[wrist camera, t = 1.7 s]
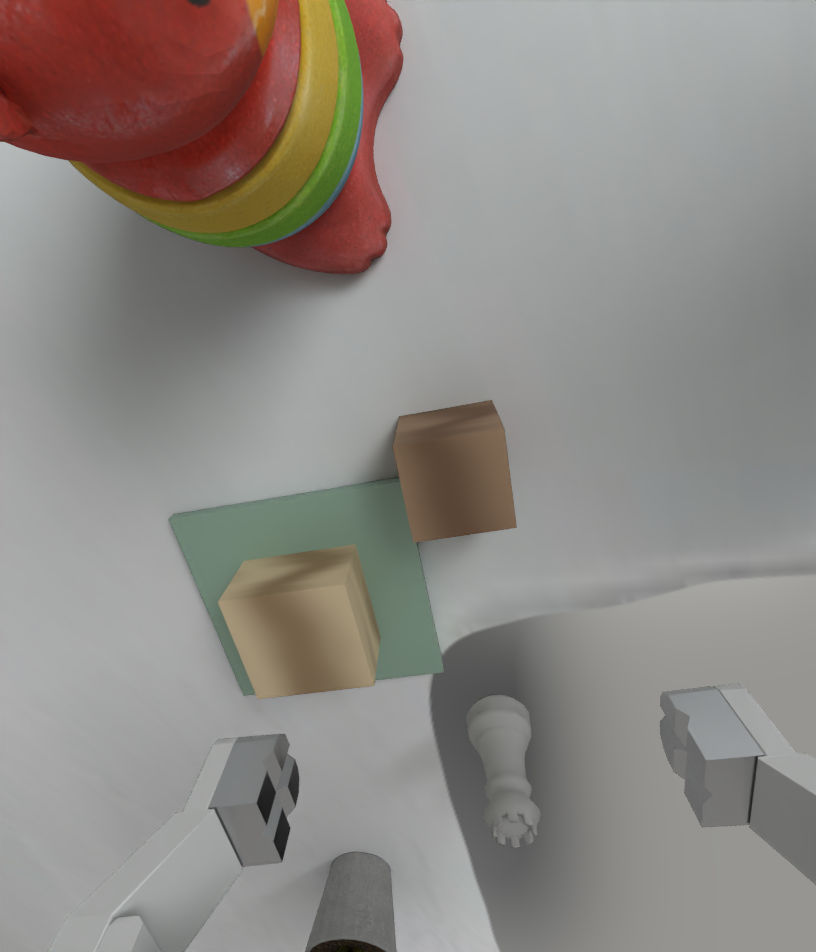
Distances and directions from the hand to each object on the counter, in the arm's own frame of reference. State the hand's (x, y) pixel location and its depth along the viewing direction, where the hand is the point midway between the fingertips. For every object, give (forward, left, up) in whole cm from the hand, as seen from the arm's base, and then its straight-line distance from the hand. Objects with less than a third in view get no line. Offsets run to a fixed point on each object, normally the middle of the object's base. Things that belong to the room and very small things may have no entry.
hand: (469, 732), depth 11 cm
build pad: (+10, +8, -18) cm, 22 cm away
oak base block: (+10, +8, -18) cm, 22 cm away
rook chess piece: (0, +20, -18) cm, 27 cm away
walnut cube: (0, 0, -18) cm, 18 cm away
